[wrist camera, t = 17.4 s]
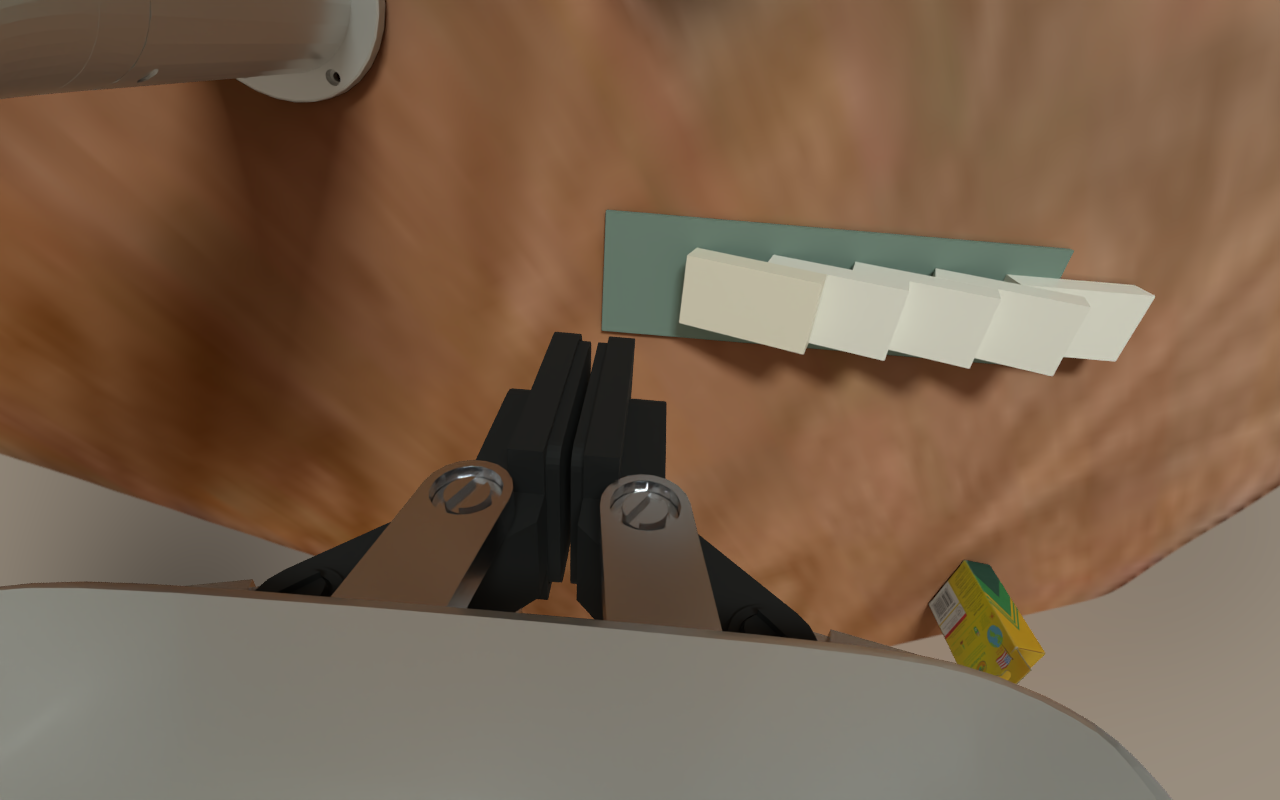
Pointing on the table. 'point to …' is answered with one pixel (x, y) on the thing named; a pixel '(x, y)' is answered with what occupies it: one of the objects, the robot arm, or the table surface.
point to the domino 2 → (854, 308)
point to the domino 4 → (1027, 324)
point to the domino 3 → (940, 316)
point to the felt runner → (659, 244)
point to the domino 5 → (1098, 314)
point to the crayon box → (984, 624)
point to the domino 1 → (751, 299)
